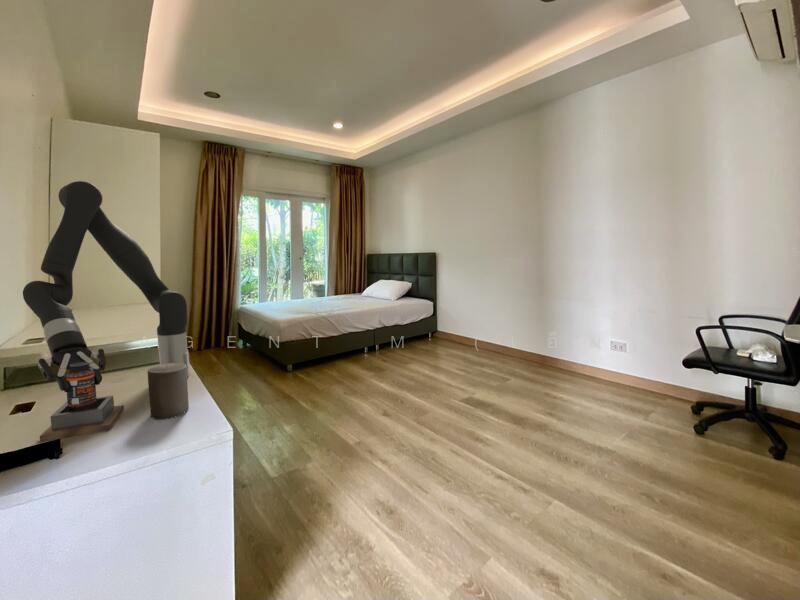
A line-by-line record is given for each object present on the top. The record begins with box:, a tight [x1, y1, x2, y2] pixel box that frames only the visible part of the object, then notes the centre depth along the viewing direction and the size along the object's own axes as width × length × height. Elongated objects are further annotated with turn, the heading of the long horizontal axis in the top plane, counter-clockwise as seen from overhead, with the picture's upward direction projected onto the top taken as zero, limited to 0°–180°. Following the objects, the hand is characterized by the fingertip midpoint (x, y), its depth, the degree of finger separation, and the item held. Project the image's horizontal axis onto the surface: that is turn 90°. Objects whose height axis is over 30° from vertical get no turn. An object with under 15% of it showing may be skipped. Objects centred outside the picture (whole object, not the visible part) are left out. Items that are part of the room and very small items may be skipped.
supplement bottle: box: [64, 362, 97, 408], centre depth 97 cm, size 6×6×11 cm
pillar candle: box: [147, 363, 190, 420], centre depth 105 cm, size 10×10×15 cm
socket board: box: [39, 405, 125, 442], centre depth 98 cm, size 14×14×2 cm
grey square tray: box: [50, 395, 115, 431], centre depth 98 cm, size 10×10×4 cm
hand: (83, 386), depth 96 cm, fingers closed on supplement bottle, 6 cm apart
